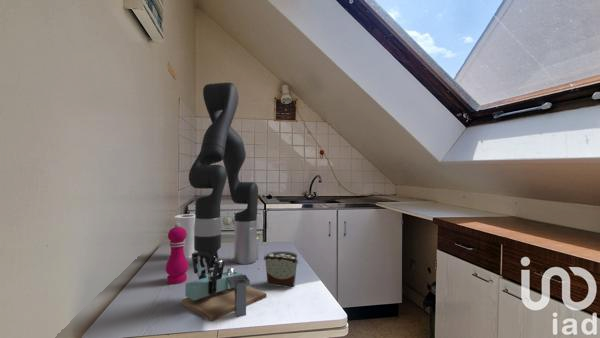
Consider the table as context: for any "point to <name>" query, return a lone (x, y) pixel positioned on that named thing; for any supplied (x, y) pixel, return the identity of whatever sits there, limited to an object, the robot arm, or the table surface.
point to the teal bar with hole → (201, 286)
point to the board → (221, 302)
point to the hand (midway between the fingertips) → (207, 290)
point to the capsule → (230, 273)
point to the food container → (281, 268)
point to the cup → (188, 224)
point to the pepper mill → (177, 256)
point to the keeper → (239, 292)
